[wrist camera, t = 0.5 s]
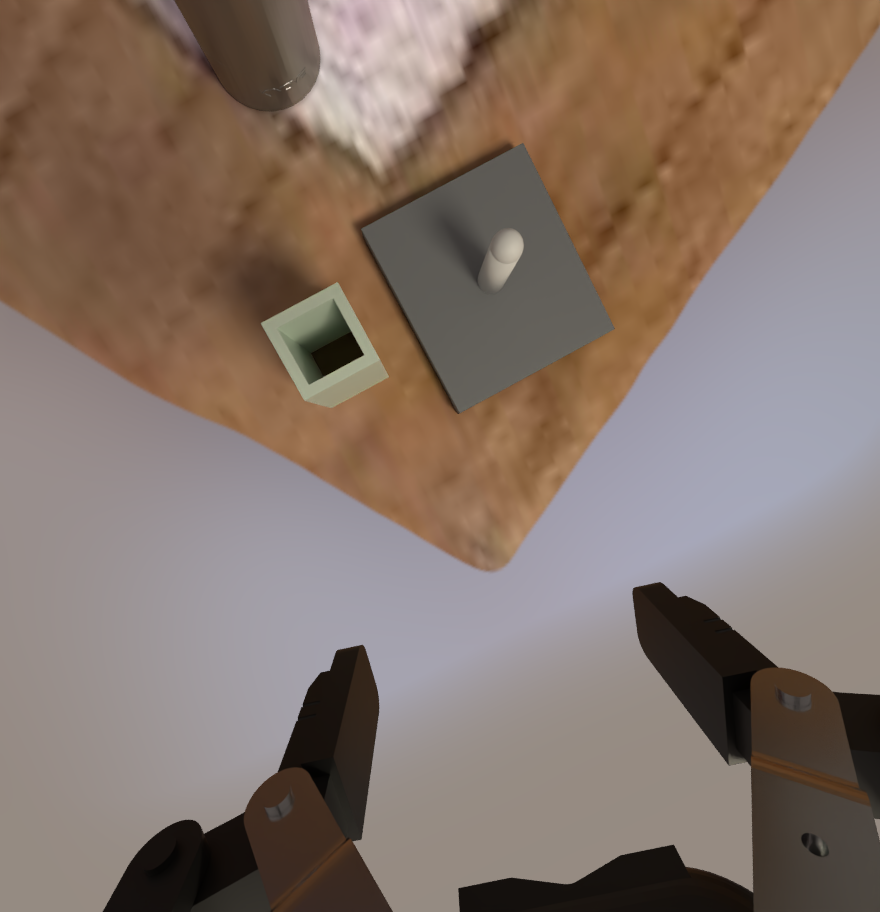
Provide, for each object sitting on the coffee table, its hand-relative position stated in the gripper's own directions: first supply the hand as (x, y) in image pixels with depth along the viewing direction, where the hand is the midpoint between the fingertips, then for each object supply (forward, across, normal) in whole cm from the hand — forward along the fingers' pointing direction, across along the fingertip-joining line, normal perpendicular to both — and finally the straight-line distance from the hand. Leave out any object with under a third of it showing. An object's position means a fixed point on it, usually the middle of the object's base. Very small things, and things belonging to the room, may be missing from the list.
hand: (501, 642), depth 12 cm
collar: (+28, +8, -10) cm, 31 cm away
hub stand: (+30, -7, -14) cm, 33 cm away
